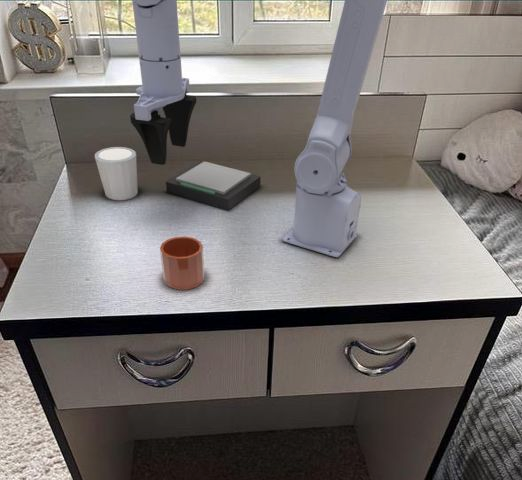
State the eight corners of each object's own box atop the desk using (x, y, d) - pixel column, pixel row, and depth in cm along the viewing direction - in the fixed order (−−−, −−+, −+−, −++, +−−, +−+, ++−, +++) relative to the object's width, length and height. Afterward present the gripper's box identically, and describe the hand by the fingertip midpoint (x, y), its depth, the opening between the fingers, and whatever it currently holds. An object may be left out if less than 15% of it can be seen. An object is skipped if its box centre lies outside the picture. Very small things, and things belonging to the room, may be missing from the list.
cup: (212, 274, 74) (210, 243, 71) (188, 294, 70) (186, 262, 67) (180, 263, 76) (177, 232, 73) (155, 282, 72) (151, 250, 69)
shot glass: (94, 197, 91) (86, 158, 86) (114, 182, 96) (108, 143, 91) (129, 204, 89) (122, 164, 85) (148, 188, 94) (143, 149, 89)
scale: (260, 186, 96) (260, 173, 94) (228, 210, 89) (228, 196, 87) (201, 171, 100) (200, 157, 99) (166, 192, 93) (165, 178, 91)
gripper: (156, 42, 78) (165, 135, 87) (107, 66, 68) (123, 168, 77) (200, 47, 77) (204, 140, 86) (157, 72, 67) (167, 175, 76)
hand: (169, 154), depth 81 cm, fingers open, 7 cm apart
